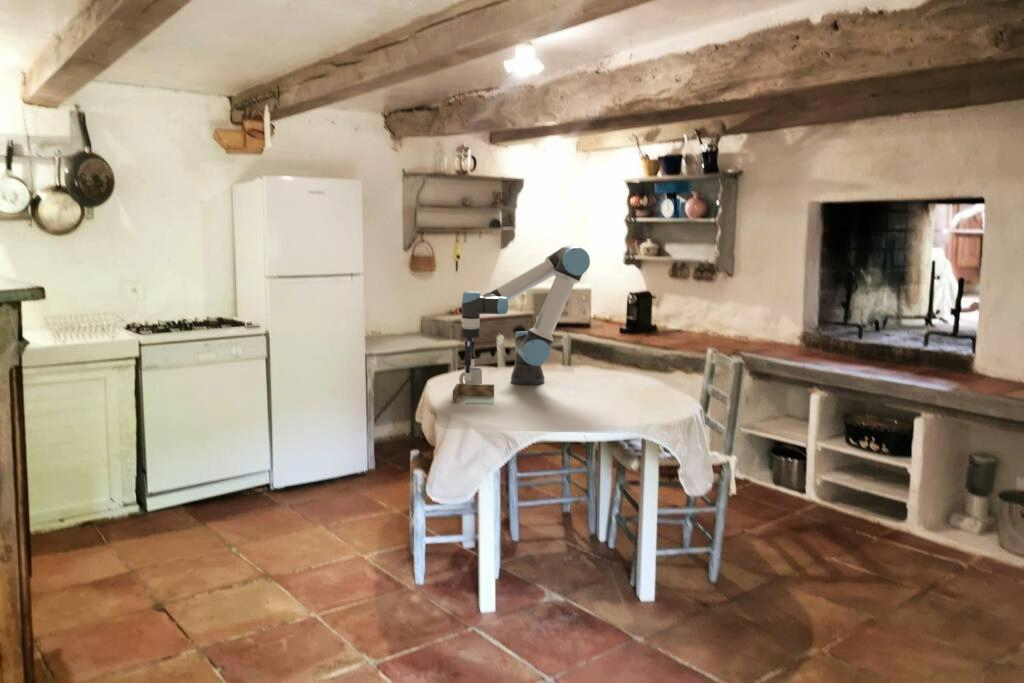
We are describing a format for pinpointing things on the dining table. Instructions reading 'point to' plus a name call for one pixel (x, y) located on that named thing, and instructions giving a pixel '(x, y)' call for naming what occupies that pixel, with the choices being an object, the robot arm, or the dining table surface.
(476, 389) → the corner walls
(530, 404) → the dining table surface
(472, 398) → the mat
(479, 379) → the cup
